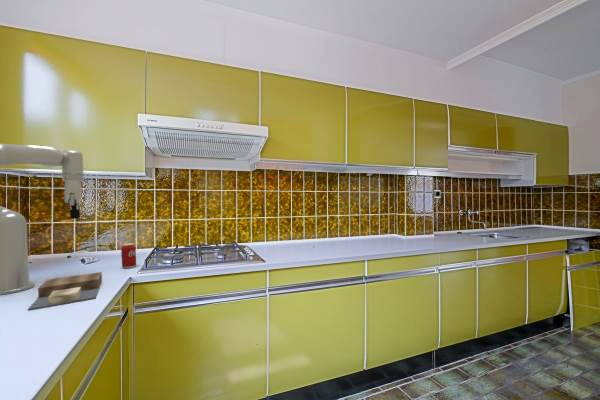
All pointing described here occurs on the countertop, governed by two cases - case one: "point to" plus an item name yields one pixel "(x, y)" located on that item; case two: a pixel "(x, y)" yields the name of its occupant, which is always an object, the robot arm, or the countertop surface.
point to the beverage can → (128, 255)
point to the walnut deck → (70, 283)
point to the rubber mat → (83, 297)
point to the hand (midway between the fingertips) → (75, 218)
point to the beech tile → (64, 295)
